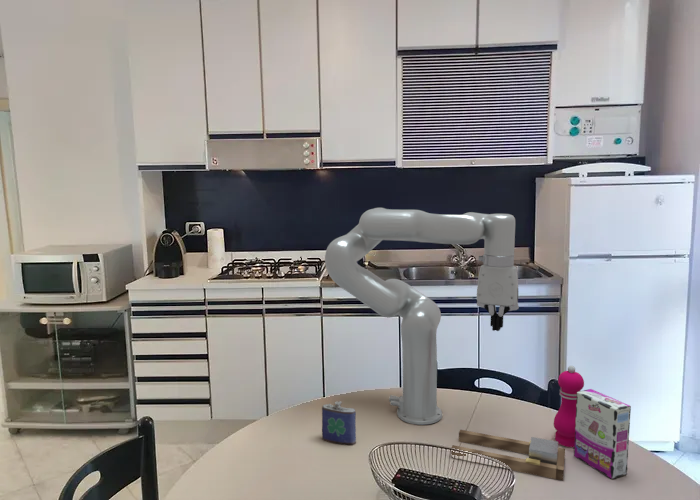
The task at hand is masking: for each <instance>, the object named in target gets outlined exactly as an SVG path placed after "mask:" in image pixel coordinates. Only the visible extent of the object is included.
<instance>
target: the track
mask: <svg viewBox="0 0 700 500" xmlns="http://www.w3.org/2000/svg"><path fill="white" fill-rule="evenodd" d="M458 442H461V443H466V444H471V445H477V446H482V447H485V448H486V447H487V448H492V449H498V450H502V451H507V452H512V453H518V454H523V455H528V456H529V447H530V442H531V440H529V441H525V440H520V439H514V438H510V437H502V436H498V435H492V434H486V433H480V432H476V431H470V430H465V429H459V431H458ZM451 448H455V449H459V450H463V451H468V452H472V453H478V454H482V455H485V456H488V457H491V458H494V459H497V460H499V461H501V462H503V463H505V464H506V465H508V466H509V467H510V468H511V469H512V470H511V471H513V472H518V473H524V474H528V475H533V476H539V477H544V478H549V479H553V480H556V481H557V480H558V481H564V477H565V476H564V473H565V461H566V460H565V459H566V448H563V447H559V446H558V457H557V465H552V464H547V463H542V462H540V460H536V459H531V458H529V457H526V458H521V457H516V456H510V455H506V454H500V453H495V452H491V451H486V450H480V449H475V448H469V447H464V446H459V445H452V446H451ZM451 448H450V449H451ZM450 451H451V450H450ZM451 454H452V455H457V456H463V455H464V456H466V454H461V453H455V452H453V451H451V452H450V455H451Z"/></svg>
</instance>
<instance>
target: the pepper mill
mask: <svg viewBox="0 0 700 500" xmlns="http://www.w3.org/2000/svg"><path fill="white" fill-rule="evenodd" d="M557 383H558V386H559V387H560V388H559V396H560V397H561V402H560V403H561V404H560V407H559V408H558V410H557V412H556V414H555V416H554V418H553V426H554V427H553V428H554V429H555V430H556V431H555V432H554V435H555V436H554V441H557V442H558V445H561V446H562V447H563V446H564V447H565V448H566V447H567V448H574V444H575V424H576V402H577V392H579V391H583V388H584V386H585V381H584V378H583V376H582V375H581V374H580V373H579V372H576V367H575V366H573V365H568V366H567V370H564V371H563V372H561V373H560V374H559V376H558V378H557Z"/></svg>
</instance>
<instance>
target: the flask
mask: <svg viewBox="0 0 700 500" xmlns="http://www.w3.org/2000/svg"><path fill="white" fill-rule="evenodd" d="M342 403H343V402H342V401H341V400H338V401H335V402H334V405H333V404H331V403H330V402H329V403H327V404H323V405H322V407H321V418H322V419H321V437H322V440H323V441H325V442H328V443H332V444H338V445H345V446H355V445H356V442H357V434H356V433H357V428H356V422H357V421H356V410H355V408H351V407H343V406H342V405H341V404H342Z"/></svg>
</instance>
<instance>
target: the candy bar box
mask: <svg viewBox="0 0 700 500" xmlns="http://www.w3.org/2000/svg"><path fill="white" fill-rule="evenodd" d="M631 410H632V406H631V405H630V404H627V403H624V402H622V401H621V400H619V399H615V398H613V397H611V396H609V395H606V394H604V393H602V392H599V391H597V390H594V389H592V388H589V389H584V390H580V391H579V392H577V402H576V424H575V444H574V447H573V451H574V452H573V456H574V458H576V459H577V460H579V461H581V462H582V463H584V464H587V466H589V467H591V468H593V469H595V470H596V471H598V472H600V473H601V474H603V475H604V476H606V477H608V478H610V479H611V480H613V479H616V478H620V477H624V476H626V475H627V474H628V473H627V472H628V462H629V461H628V458H629V438H630V427H631V426H630V424H631Z"/></svg>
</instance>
